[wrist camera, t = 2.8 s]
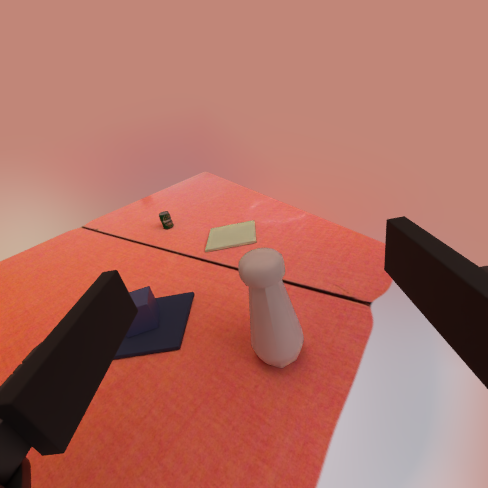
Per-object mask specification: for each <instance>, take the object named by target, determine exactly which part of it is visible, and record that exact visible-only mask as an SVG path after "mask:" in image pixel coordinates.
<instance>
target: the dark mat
mask: <svg viewBox="0 0 488 488" xmlns="http://www.w3.org/2000/svg"><path fill="white" fill-rule="evenodd" d="M193 297H194V292H189V293H183V294H178V295H172V296H166V297H160V298H155V299H156V301H157V304H158V306H159V308H160V310H159V327H158V328H155V329H152V330H149V331H146V332H144V333H141V334H138V335H135V336H132V337H129V338H127V336H125V338H124V339H123V341H122V343H121V345H120V347H119V349H118V351H117V353H116V355H115V357H114V359H120V358H126V357H133V356H140V355H146V354H153V353H159V352H166V351H172V350H179V349H180V346H181V342H182V339H183V335H184V331H185V327H186V324H187V320H188V316H189V312H190V309H191V305H192V301H193Z"/></svg>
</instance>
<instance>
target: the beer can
mask: <svg viewBox="0 0 488 488" xmlns="http://www.w3.org/2000/svg"><path fill="white" fill-rule="evenodd" d="M159 217H160V220H161V222H162V225H163V227H164V229H169V228H172V227H173V222H172V220H171V217H170V214H169V213H168V211H165V212H161V213H160V214H159Z"/></svg>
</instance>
